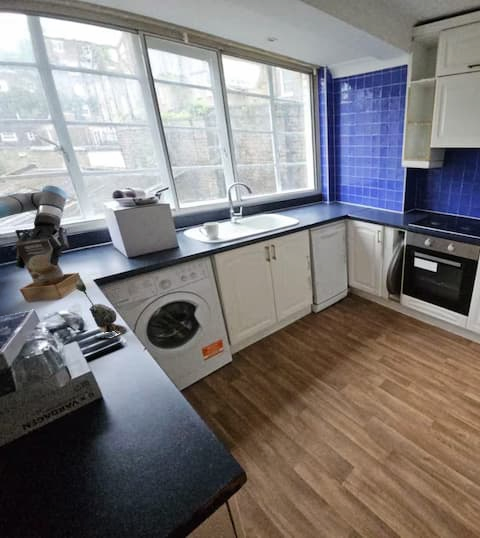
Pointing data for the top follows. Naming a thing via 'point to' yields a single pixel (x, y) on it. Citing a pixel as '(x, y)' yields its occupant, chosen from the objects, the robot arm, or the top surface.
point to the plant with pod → (102, 314)
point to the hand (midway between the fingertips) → (36, 265)
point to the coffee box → (39, 259)
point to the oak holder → (50, 288)
